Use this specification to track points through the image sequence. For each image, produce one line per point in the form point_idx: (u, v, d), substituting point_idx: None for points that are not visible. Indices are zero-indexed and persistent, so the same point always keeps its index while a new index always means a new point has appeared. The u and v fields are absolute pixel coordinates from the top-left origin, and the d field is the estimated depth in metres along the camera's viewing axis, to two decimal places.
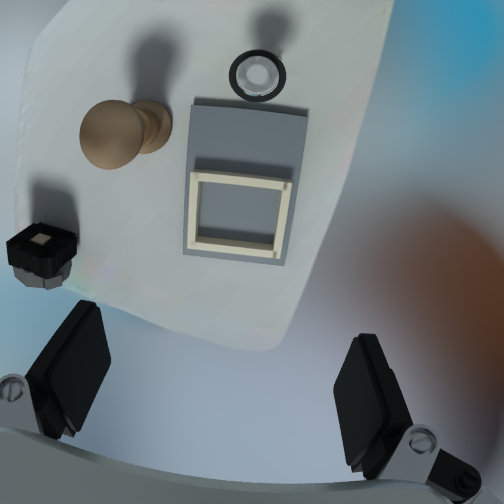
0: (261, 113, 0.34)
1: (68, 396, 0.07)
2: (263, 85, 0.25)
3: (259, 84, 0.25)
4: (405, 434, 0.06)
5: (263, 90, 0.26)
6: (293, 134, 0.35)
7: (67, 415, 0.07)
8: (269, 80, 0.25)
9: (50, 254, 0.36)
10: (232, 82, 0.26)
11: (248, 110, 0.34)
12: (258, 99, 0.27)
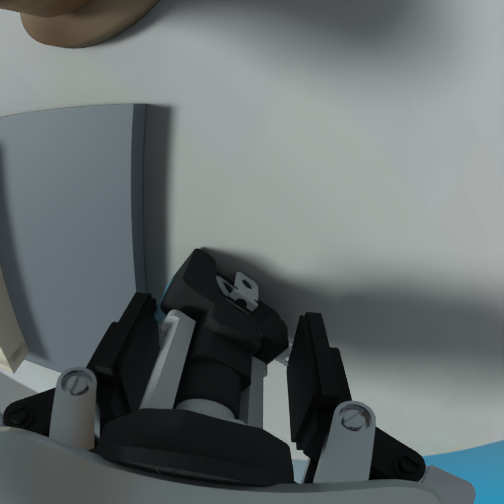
0: None
1: (131, 386, 0.08)
2: None
3: None
4: (336, 409, 0.07)
5: None
6: None
7: (129, 406, 0.08)
8: None
9: None
10: (133, 467, 0.04)
11: (132, 287, 0.12)
12: None
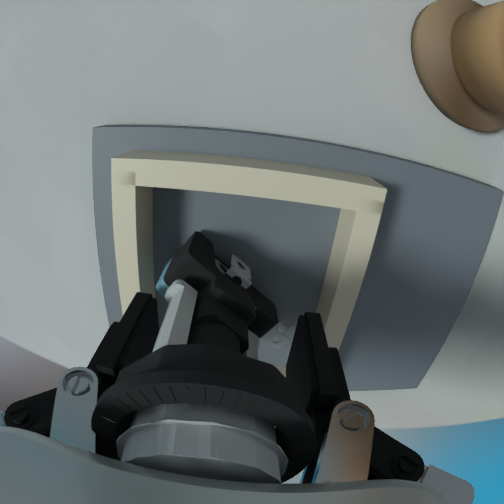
0: (448, 326, 0.16)
1: None
2: None
3: None
4: (335, 409, 0.07)
5: None
6: (396, 375, 0.17)
7: None
8: None
9: None
10: (162, 392, 0.05)
11: (461, 305, 0.15)
12: (106, 442, 0.06)
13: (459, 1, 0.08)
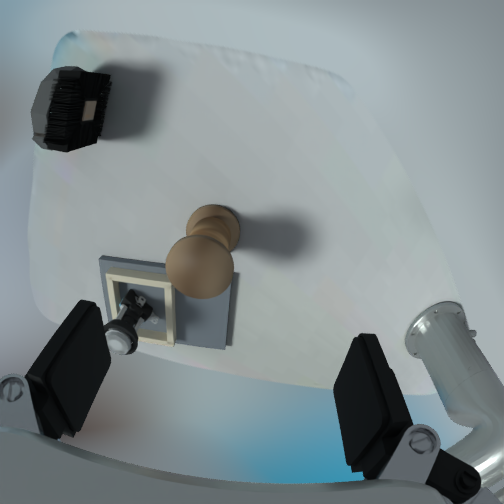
0: (225, 323, 0.47)
1: (68, 396, 0.07)
2: (109, 346, 0.37)
3: (109, 344, 0.37)
4: (405, 434, 0.06)
5: None
6: (210, 341, 0.48)
7: (67, 415, 0.07)
8: (113, 350, 0.37)
9: (71, 143, 0.29)
10: (110, 325, 0.36)
11: (227, 315, 0.46)
12: None
13: (203, 210, 0.39)
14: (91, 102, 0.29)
